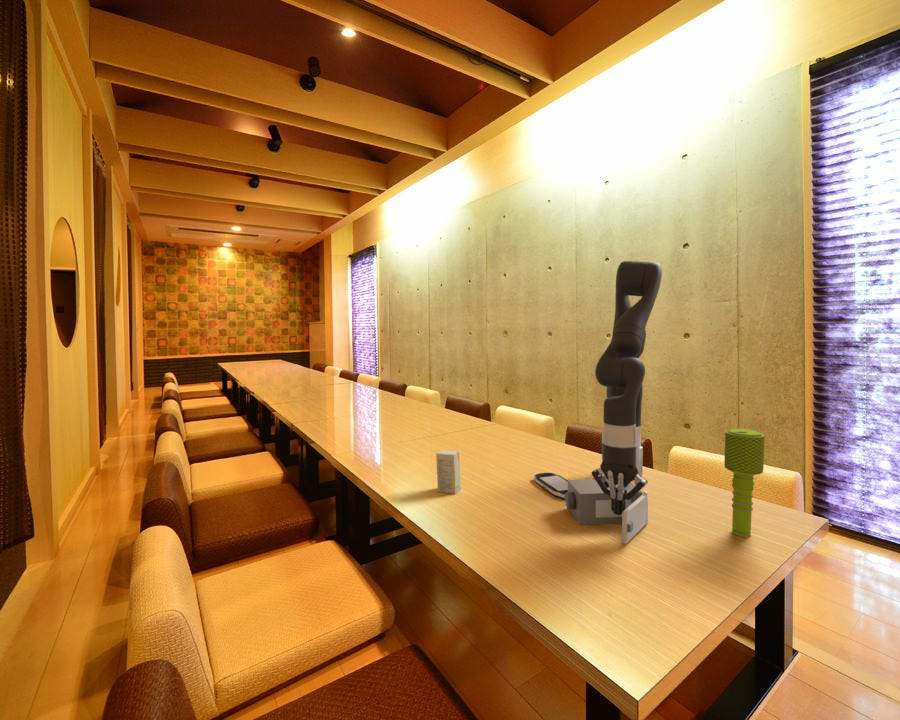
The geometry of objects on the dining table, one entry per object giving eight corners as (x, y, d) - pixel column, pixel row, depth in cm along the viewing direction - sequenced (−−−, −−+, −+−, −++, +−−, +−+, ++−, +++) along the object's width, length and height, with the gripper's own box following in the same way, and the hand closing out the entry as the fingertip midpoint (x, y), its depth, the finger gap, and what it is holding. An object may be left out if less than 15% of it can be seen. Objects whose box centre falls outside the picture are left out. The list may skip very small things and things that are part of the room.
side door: (621, 543, 97) (621, 509, 97) (643, 522, 108) (643, 490, 107) (629, 546, 96) (629, 511, 95) (650, 524, 107) (651, 492, 106)
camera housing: (561, 508, 117) (561, 477, 117) (624, 506, 118) (625, 475, 117) (573, 525, 107) (574, 491, 107) (642, 523, 108) (643, 489, 107)
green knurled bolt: (762, 544, 96) (766, 435, 95) (722, 536, 100) (725, 432, 99) (759, 529, 103) (762, 428, 101) (722, 522, 107) (725, 425, 105)
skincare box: (461, 489, 132) (460, 451, 131) (455, 494, 128) (454, 455, 127) (442, 486, 135) (441, 449, 134) (436, 491, 131) (435, 452, 130)
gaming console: (529, 480, 140) (529, 473, 140) (553, 477, 143) (553, 470, 143) (561, 503, 122) (560, 494, 122) (588, 499, 124) (588, 490, 124)
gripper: (585, 440, 101) (584, 510, 103) (642, 450, 92) (641, 527, 94) (598, 434, 107) (598, 501, 108) (654, 443, 98) (652, 516, 99)
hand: (618, 513), depth 101 cm, fingers closed
